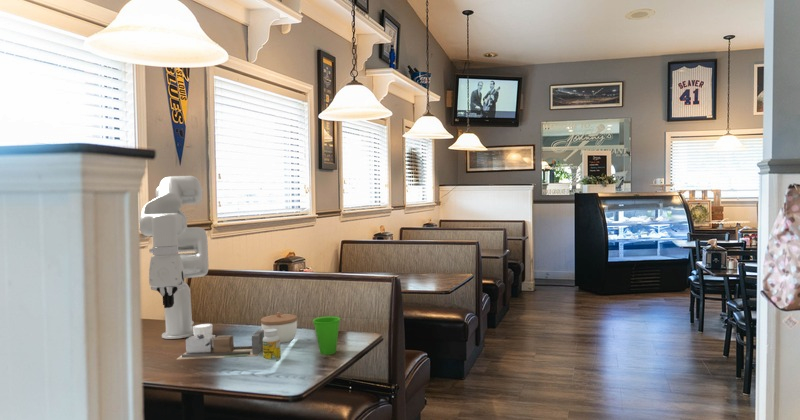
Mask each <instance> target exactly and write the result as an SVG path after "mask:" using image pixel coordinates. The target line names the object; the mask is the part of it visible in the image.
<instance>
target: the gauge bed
mask: <svg viewBox="0 0 800 420" xmlns="http://www.w3.org/2000/svg"><path fill="white" fill-rule="evenodd" d="M263 338H264V330H262V329H258V330H256V331H255V333H253V334H252V335H251V345H239V346H234V350H233V351H232V352H222V353H214V352H213V353H197V354H186V351H185V352H184V353H182V354H181V355H179V357H177V358H176V360H196V359H197V360H198V359H200V360H201V359H218V358H219V359H220V358H221V359H225V358H244V357H246V358H247V357H250V358H251V357H258V356H259V355H260V354H261V353H262V352H263Z"/></svg>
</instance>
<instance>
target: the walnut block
mask: <svg viewBox="0 0 800 420" xmlns="http://www.w3.org/2000/svg"><path fill="white" fill-rule="evenodd" d="M234 345H235V344H234V334H233V335H232V334H231V335H217V336H215V339H213V346H214V353H222V352H232V351H233V350H234V347H235V346H234Z"/></svg>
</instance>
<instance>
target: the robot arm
mask: <svg viewBox="0 0 800 420" xmlns="http://www.w3.org/2000/svg"><path fill="white" fill-rule="evenodd" d="M203 194H204V193H203V188H202V184H201V181H200V180H199V179H198V177H196V176H193V175H171V176H166V177H164V178H162V179H161V180H160V182H159V186H157V188H156V189H155V198H153V199H152V200H150V201H148V202H147V203H145V205H144V206H142V209H141V211H140V217H139V220H138V221H139V223H140V228H139V231H140V233H141V235H143V236H145V237H152V248H149V250H148V251H149V253H150V254H151V253H152V256H151V257H150V259H149V260H150V261H149V269H148V271H149V272H148V284H149V286H150V290H151V291H157V292H158V293H159V294H160V296H161V297H162V305H163V308H164V319H165V332H162V334H161V338H162V339H166V340H177V339H183V338H189V337H191V336H194V333H193V325H194V323H195V322H194V320H193V316H192V300H191V299H192V298H191V296H192V294H191V288H190V286H189V285H188V284H187V282H185V279H191V278H202V277H205V276H206V275H208V272H209V248H208V247H209V244H208V241H209V240H208V234H207V232H206V229H204V228H203V227H199V226H195V227H194V226H192V227H188V218H187V215H186V214H185V213H184V212H183V211H182V210H181V208H182V205H183V206H185V205H198V204H200V203H201V202H202V200H203ZM187 252H188V253H187Z"/></svg>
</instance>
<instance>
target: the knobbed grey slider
mask: <svg viewBox="0 0 800 420" xmlns="http://www.w3.org/2000/svg"><path fill="white" fill-rule="evenodd" d="M215 338H216V335H215V334H212V335H204V334H199V335H197V336H194V335H193V336H190V337H187V338H186V339H185V352H186V354H197V353H213V352H214V346H213V339H215Z"/></svg>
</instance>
